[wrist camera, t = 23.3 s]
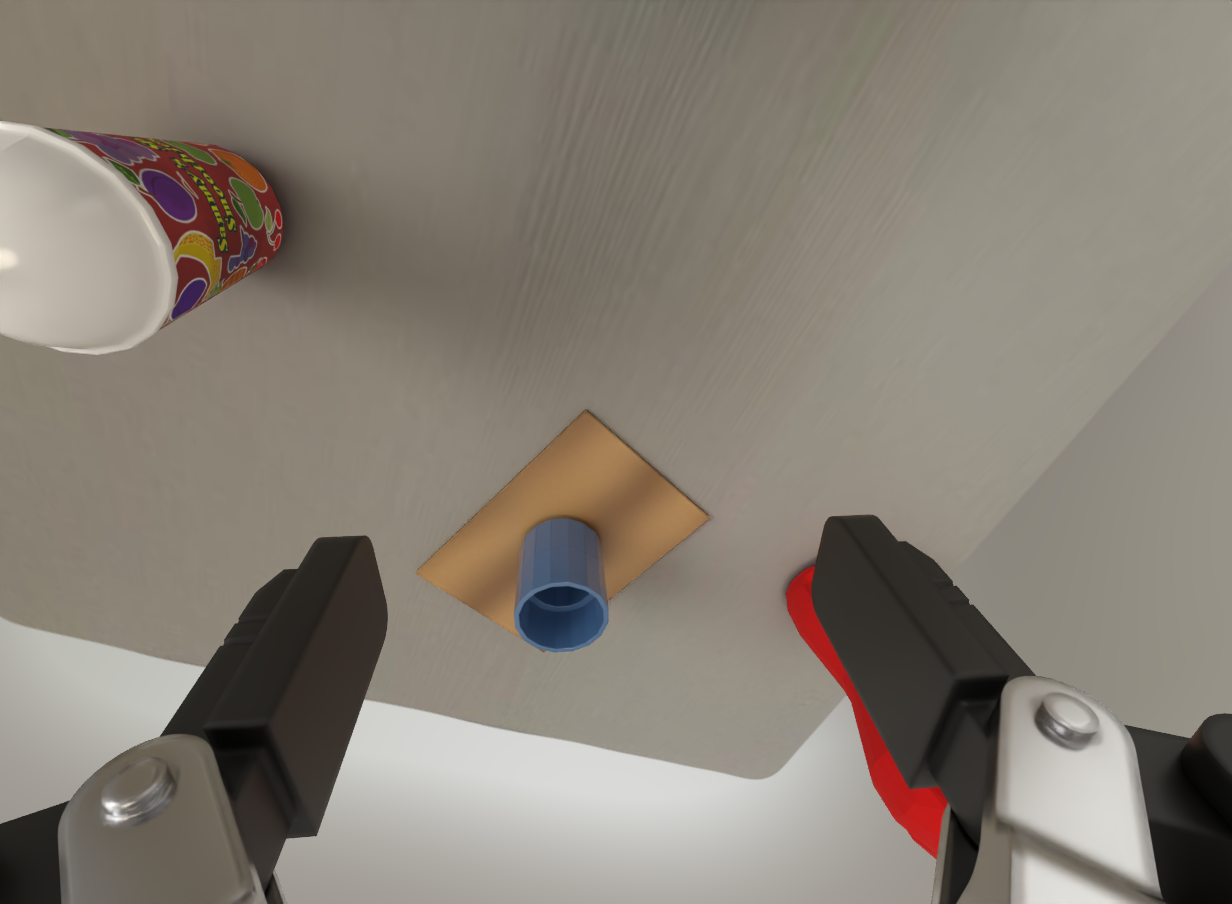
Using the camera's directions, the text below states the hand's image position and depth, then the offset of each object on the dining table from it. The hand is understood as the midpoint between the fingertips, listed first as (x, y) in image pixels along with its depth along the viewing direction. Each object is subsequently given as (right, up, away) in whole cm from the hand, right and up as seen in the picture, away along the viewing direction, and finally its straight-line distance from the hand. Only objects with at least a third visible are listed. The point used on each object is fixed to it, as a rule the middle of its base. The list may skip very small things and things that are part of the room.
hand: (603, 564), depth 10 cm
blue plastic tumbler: (-4, -6, +37) cm, 37 cm away
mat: (-4, -6, +37) cm, 38 cm away
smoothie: (-22, +16, +24) cm, 36 cm away
